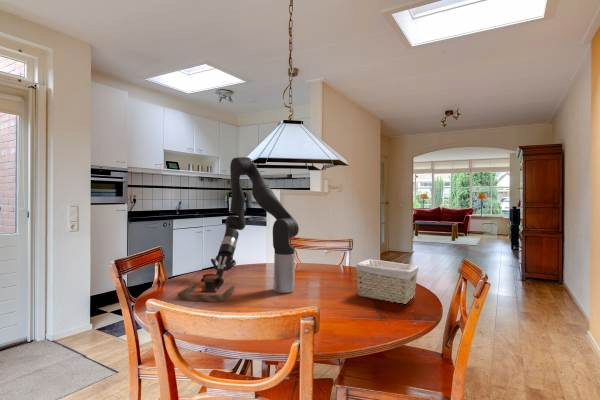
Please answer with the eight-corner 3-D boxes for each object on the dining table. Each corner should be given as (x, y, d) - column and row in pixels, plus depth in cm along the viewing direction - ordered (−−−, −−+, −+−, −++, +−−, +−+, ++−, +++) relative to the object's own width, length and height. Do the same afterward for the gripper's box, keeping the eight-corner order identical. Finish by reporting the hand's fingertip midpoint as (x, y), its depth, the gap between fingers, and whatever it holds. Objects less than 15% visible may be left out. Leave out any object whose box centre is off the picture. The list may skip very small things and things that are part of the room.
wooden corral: (234, 291, 154) (234, 285, 154) (222, 302, 138) (222, 296, 138) (193, 288, 156) (194, 283, 156) (177, 299, 140) (177, 293, 140)
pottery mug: (195, 292, 152) (196, 274, 156) (207, 297, 160) (208, 279, 164) (218, 288, 149) (219, 270, 153) (229, 293, 157) (230, 275, 161)
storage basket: (418, 298, 152) (419, 264, 151) (408, 307, 138) (409, 271, 138) (367, 288, 165) (368, 258, 164) (353, 296, 151) (354, 263, 151)
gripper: (213, 242, 171) (203, 272, 159) (239, 243, 170) (230, 273, 158) (217, 251, 177) (207, 280, 165) (241, 252, 175) (233, 282, 163)
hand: (218, 277), depth 161 cm, fingers closed
